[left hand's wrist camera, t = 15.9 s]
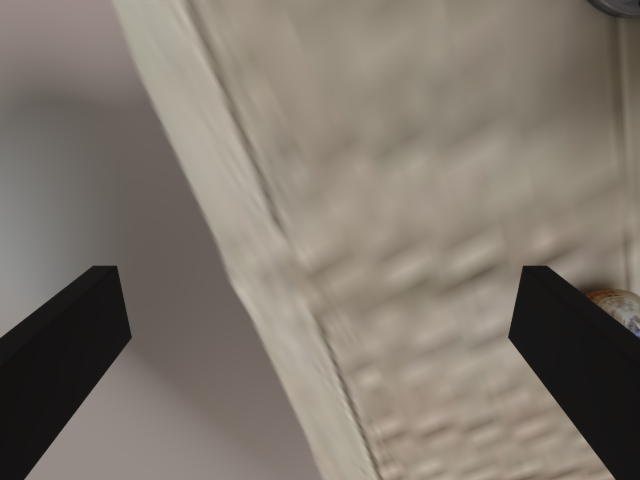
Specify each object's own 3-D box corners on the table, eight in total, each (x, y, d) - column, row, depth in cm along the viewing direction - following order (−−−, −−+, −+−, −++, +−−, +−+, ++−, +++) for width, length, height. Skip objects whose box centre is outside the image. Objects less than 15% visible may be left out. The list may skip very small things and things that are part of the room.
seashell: (618, 269, 49) (671, 301, 42) (625, 305, 51) (677, 342, 44) (543, 297, 51) (581, 333, 43) (553, 331, 52) (591, 371, 45)
